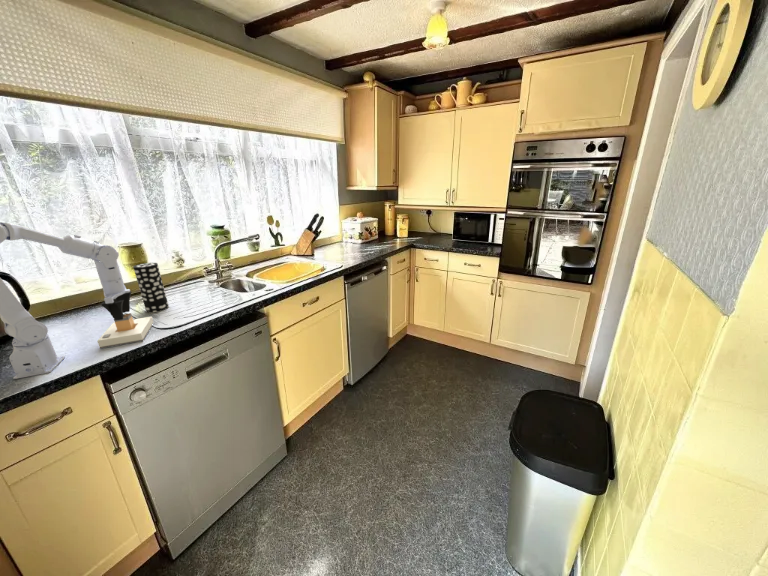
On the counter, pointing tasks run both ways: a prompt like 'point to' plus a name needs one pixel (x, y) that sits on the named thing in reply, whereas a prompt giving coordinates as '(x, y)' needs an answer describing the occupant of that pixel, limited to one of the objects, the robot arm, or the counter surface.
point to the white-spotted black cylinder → (151, 287)
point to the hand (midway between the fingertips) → (122, 315)
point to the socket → (126, 333)
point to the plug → (125, 323)
